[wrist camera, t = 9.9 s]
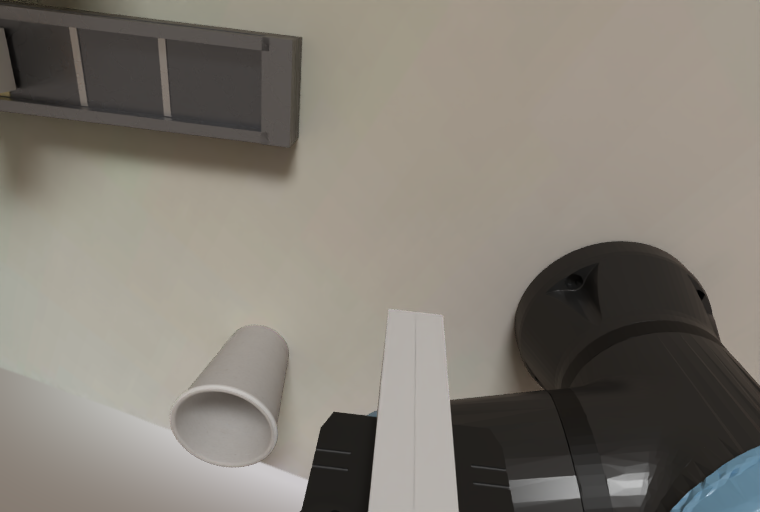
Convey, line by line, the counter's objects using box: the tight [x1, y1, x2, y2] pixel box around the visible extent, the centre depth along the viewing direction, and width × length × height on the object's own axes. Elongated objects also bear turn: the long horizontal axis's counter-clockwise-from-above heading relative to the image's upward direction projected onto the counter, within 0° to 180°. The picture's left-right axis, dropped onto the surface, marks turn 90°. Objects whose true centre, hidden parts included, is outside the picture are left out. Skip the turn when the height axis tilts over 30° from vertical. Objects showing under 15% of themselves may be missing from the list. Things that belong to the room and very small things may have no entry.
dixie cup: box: [170, 325, 289, 467], centre depth 43 cm, size 8×8×10 cm
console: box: [0, 0, 302, 148], centre depth 34 cm, size 7×28×6 cm, turn 84°
